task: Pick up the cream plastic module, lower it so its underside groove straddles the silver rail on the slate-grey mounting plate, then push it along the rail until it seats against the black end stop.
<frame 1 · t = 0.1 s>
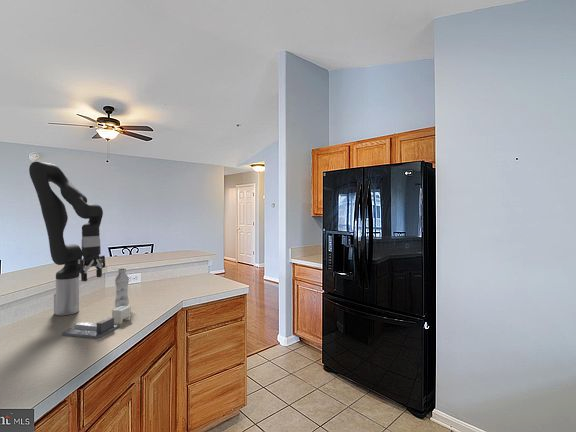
hand: (91, 279, 140), 17 cm above the counter, tool pointing down, fingers open, 8 cm apart
rail plate: (91, 330, 122), on the counter
module: (121, 321, 133), on the counter
plastic bottle: (121, 308, 151), on the counter
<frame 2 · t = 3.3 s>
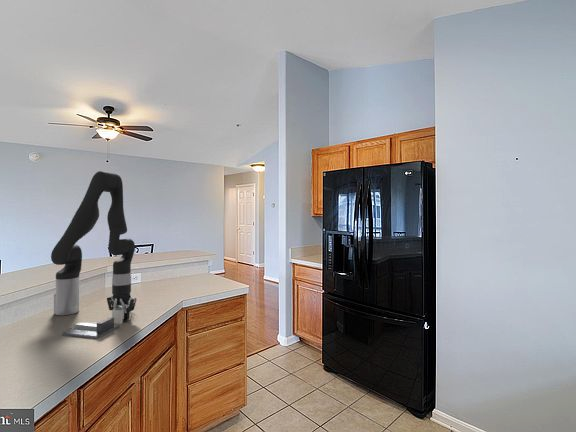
hand: (121, 319, 133), 1 cm above the counter, tool pointing down, fingers closed on module, 4 cm apart
module: (121, 321, 133), on the counter, touching gripper
everything else where it was.
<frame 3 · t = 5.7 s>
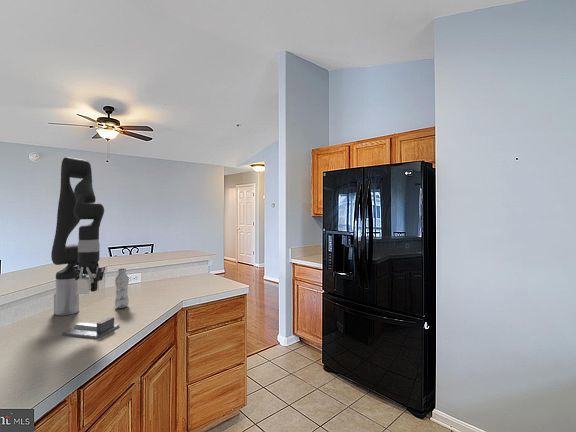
hand: (88, 290, 122), 17 cm above the counter, tool pointing down, fingers closed on module, 4 cm apart
module: (88, 291, 122), point 16 cm above the counter, touching gripper
everything else where it was.
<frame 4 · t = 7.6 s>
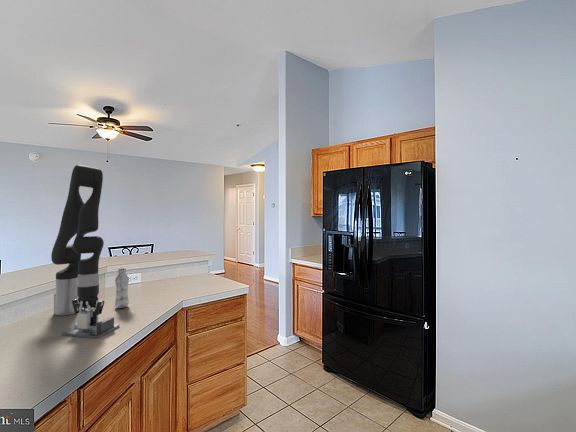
hand: (88, 324, 122), 3 cm above the counter, tool pointing down, fingers closed on module, 4 cm apart
module: (87, 325, 122), point 2 cm above the counter, touching gripper
everything else where it was.
when the fingers open (3 cm above the counter, at t = 7.9 s): module drops 1 cm, resting on rail plate.
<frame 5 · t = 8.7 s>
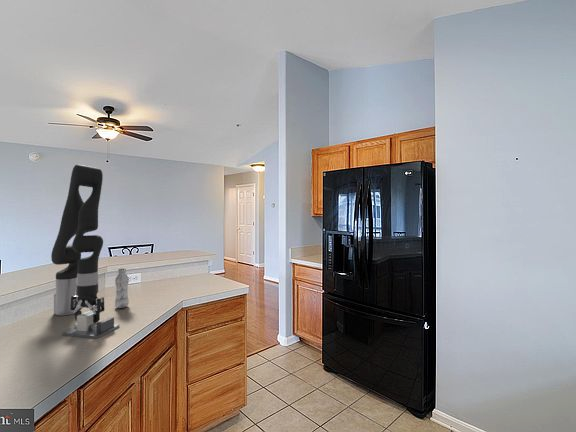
hand: (87, 321, 122), 4 cm above the counter, tool pointing down, fingers open, 8 cm apart
module: (87, 328, 122), point 1 cm above the counter, touching rail plate
everything else where it was.
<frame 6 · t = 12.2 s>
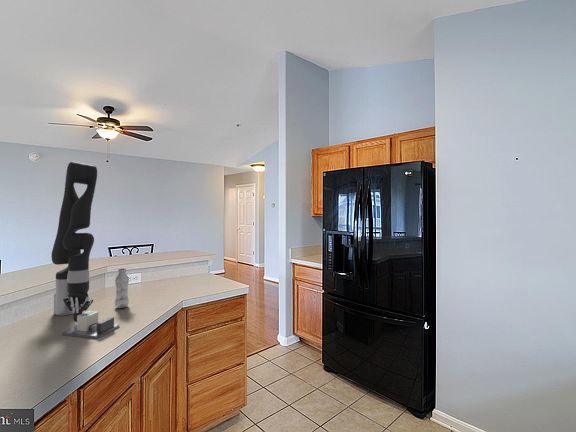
hand: (77, 321, 123), 4 cm above the counter, tool pointing down, fingers closed
module: (87, 327, 122), point 1 cm above the counter, touching gripper, rail plate
everything else where it was.
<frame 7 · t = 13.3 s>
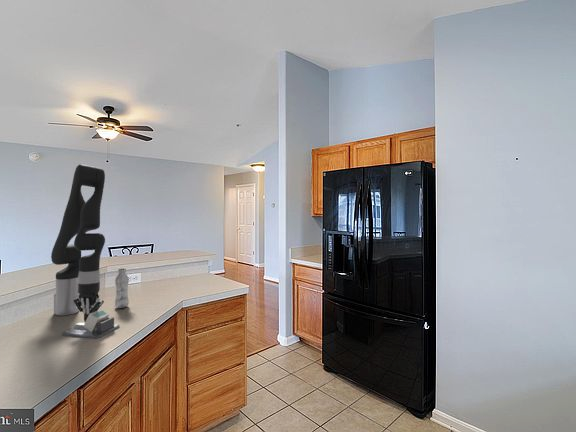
hand: (88, 321, 122), 4 cm above the counter, tool pointing down, fingers closed
module: (93, 326, 121), point 2 cm above the counter, tilted 28°, touching gripper, hand, rail plate
everything else where it was.
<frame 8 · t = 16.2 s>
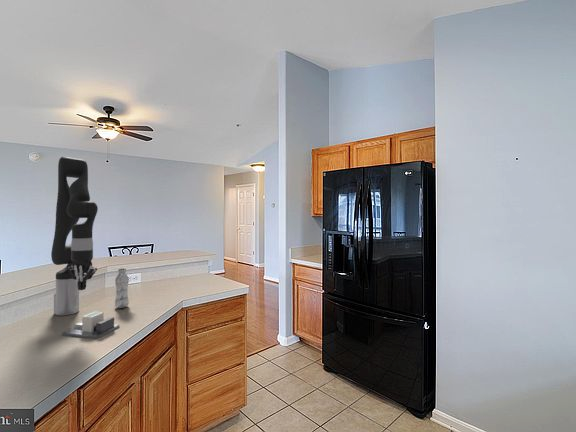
hand: (81, 289, 122), 17 cm above the counter, tool pointing down, fingers closed
module: (93, 328, 121), point 1 cm above the counter, touching rail plate
everything else where it was.
at the end: module 1.9 cm from the target spot on the rail plate, point 1.0 cm above the rail plate's base; module tilted 0° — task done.
